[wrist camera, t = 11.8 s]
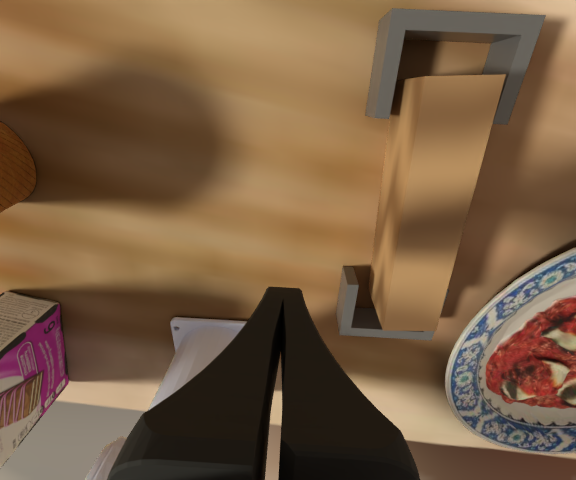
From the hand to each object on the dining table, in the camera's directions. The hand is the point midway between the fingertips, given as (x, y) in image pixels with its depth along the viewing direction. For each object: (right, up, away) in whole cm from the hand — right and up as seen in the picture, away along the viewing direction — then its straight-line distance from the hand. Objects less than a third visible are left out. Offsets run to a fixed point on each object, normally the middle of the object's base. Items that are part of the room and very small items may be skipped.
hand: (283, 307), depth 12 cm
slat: (+8, +6, +9) cm, 13 cm away
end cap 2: (+9, +12, +5) cm, 16 cm away
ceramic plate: (+27, -7, +14) cm, 31 cm away
